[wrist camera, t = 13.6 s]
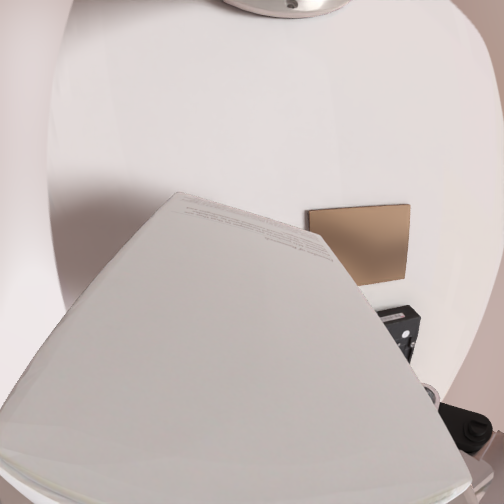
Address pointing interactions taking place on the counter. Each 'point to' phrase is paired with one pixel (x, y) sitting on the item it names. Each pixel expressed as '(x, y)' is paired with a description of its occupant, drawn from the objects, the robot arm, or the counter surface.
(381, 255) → the flat brown wooden pieces
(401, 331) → the disk drive
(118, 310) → the supplement box
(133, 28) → the counter surface
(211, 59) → the counter surface
